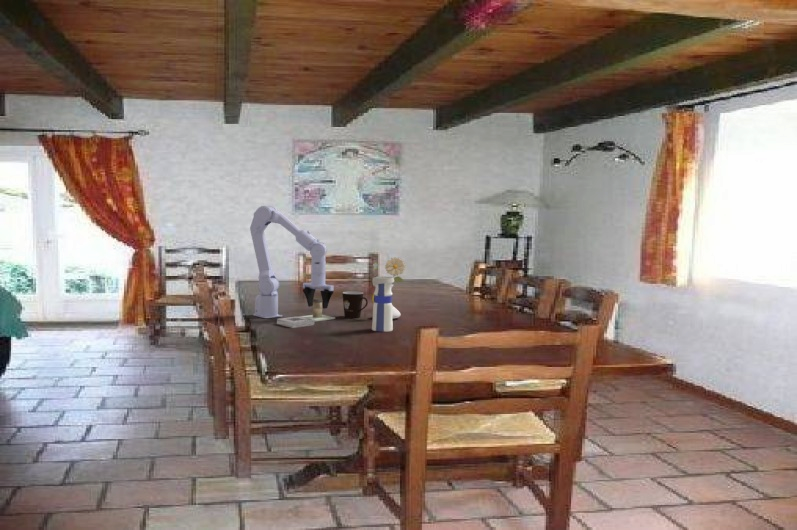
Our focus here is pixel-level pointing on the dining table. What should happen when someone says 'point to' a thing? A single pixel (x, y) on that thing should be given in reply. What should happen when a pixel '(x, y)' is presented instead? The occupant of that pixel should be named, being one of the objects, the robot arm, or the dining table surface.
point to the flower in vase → (395, 268)
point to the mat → (319, 318)
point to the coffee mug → (353, 304)
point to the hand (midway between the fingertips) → (317, 307)
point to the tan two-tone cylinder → (317, 308)
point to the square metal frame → (295, 322)
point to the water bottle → (382, 303)
